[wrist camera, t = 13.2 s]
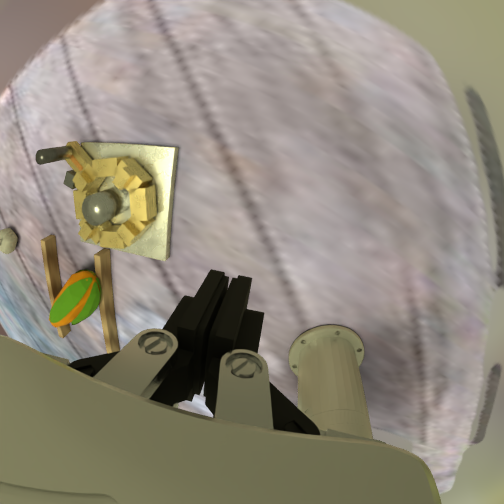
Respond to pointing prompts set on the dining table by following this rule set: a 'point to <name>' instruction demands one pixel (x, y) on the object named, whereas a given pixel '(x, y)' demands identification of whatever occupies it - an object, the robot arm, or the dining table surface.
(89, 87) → the dining table surface
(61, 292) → the corn
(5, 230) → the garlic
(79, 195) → the tan angular piece
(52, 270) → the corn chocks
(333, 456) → the robot arm
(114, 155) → the housing plate
